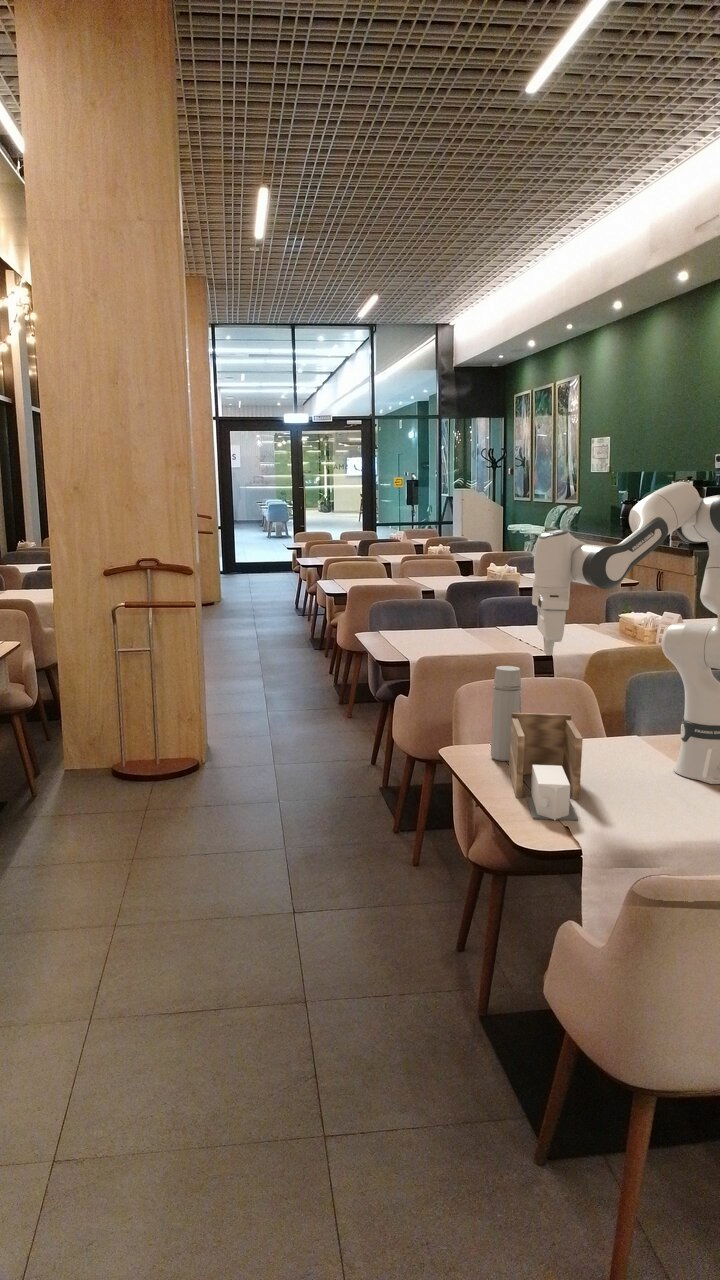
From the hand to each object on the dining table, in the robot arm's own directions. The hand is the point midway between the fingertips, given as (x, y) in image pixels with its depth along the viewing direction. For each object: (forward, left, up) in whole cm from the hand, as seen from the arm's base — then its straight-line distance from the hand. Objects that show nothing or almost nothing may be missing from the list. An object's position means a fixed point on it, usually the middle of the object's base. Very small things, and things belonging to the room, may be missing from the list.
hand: (548, 654), depth 233 cm
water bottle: (+7, -21, -33) cm, 40 cm away
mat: (0, +19, -33) cm, 38 cm away
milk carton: (0, +9, -29) cm, 30 cm away
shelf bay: (0, +3, -33) cm, 33 cm away
